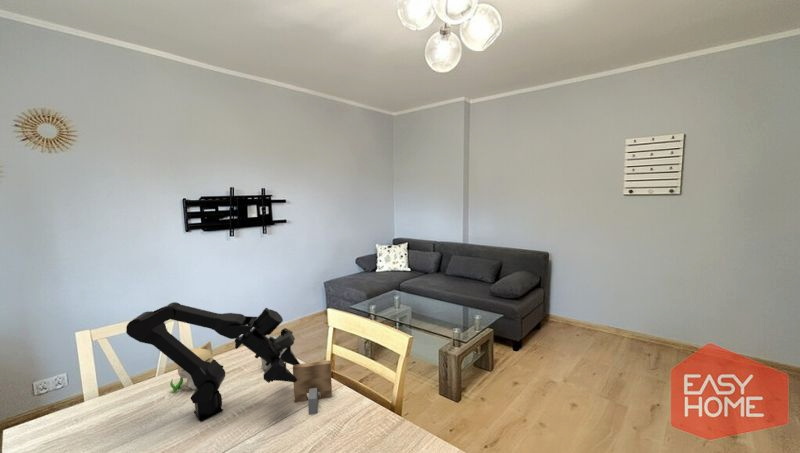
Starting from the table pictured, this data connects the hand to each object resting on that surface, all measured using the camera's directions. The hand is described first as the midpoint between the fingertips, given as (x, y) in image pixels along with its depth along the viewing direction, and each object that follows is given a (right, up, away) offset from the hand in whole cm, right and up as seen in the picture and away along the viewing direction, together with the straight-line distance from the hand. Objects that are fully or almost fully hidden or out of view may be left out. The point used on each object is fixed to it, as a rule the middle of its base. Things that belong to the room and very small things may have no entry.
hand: (297, 372), depth 108 cm
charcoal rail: (+5, -9, +2) cm, 11 cm away
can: (-17, -7, +21) cm, 28 cm away
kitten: (-40, -9, +10) cm, 42 cm away
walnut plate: (+5, -9, +2) cm, 11 cm away
